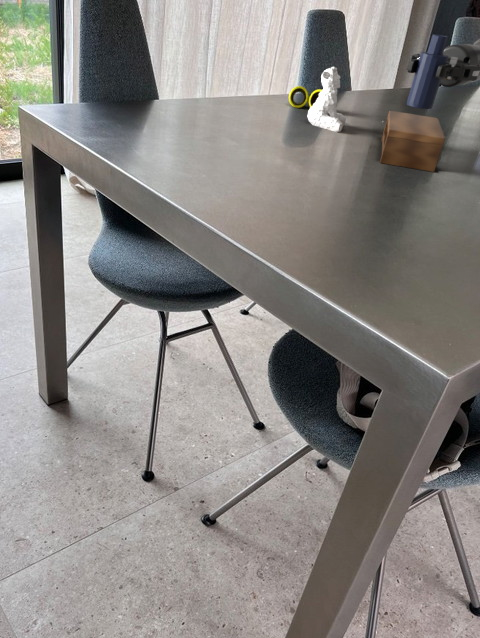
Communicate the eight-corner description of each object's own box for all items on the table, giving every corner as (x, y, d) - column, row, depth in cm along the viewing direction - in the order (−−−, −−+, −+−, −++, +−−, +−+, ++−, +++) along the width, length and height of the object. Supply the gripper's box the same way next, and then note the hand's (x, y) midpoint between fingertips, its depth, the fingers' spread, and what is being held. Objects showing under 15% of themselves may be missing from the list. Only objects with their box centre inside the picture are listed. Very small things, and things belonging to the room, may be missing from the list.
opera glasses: (326, 113, 145) (331, 92, 143) (324, 112, 141) (329, 90, 139) (290, 107, 148) (294, 86, 146) (286, 106, 143) (291, 84, 141)
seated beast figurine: (340, 133, 125) (354, 72, 118) (302, 126, 126) (314, 66, 119) (344, 125, 132) (358, 67, 125) (308, 119, 134) (319, 62, 127)
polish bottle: (431, 105, 113) (452, 36, 105) (432, 110, 109) (455, 38, 102) (406, 102, 113) (426, 32, 106) (406, 106, 109) (427, 34, 102)
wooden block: (428, 147, 122) (437, 118, 118) (433, 172, 106) (445, 138, 102) (381, 140, 123) (389, 110, 120) (379, 162, 107) (389, 129, 104)
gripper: (486, 92, 115) (453, 99, 104) (421, 78, 122) (384, 83, 111) (501, 50, 110) (469, 52, 100) (432, 38, 118) (395, 39, 107)
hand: (424, 69), depth 105 cm, fingers closed on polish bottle, 5 cm apart
